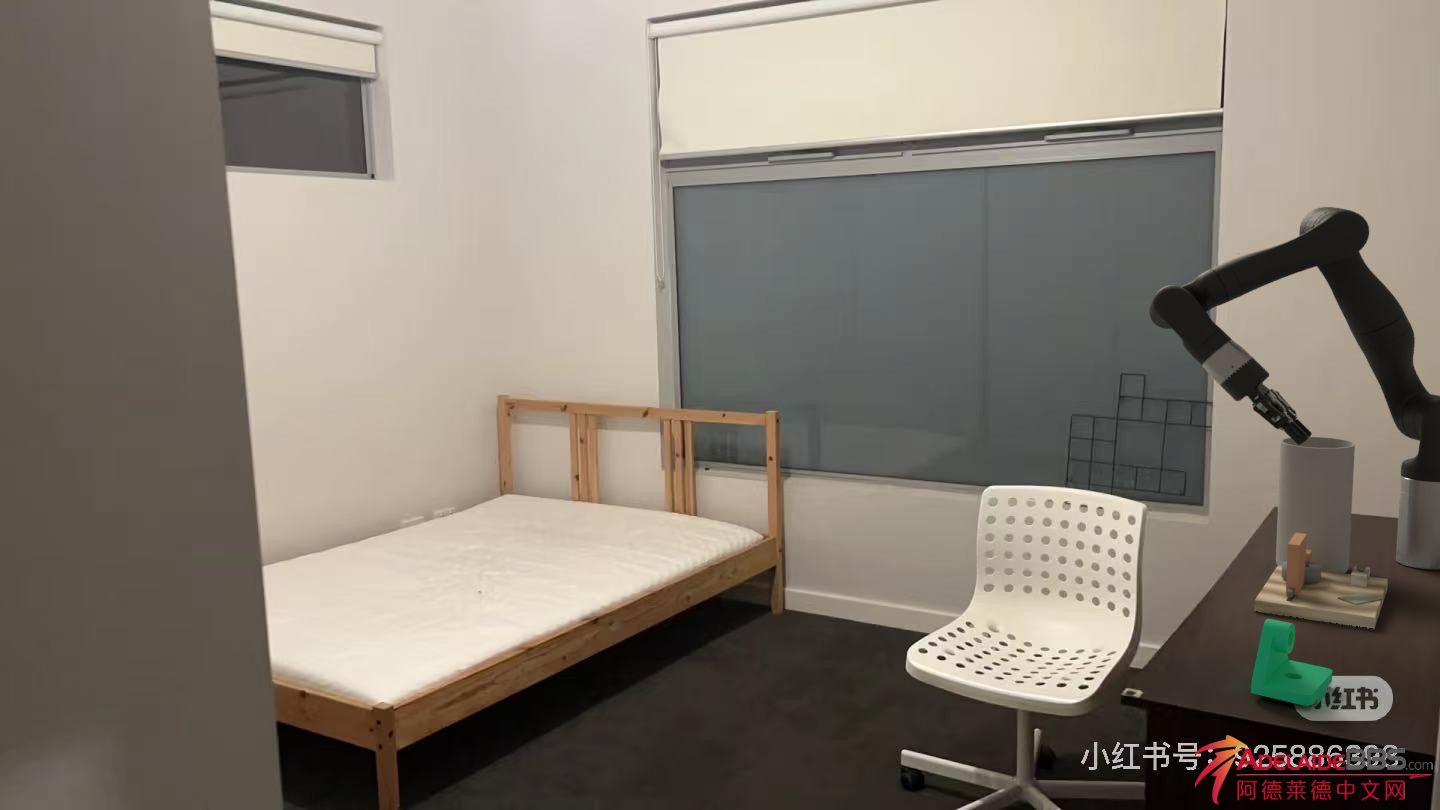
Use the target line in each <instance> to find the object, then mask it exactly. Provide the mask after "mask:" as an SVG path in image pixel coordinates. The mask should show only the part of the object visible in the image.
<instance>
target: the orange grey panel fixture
mask: <svg viewBox="0 0 1440 810" xmlns="http://www.w3.org/2000/svg"><path fill="white" fill-rule="evenodd" d="M1306 539H1307V534H1303V533H1295V534H1294V536H1293V537H1292V539H1291V540H1290V541H1289V543H1288V552H1287V561H1284V562H1282V575H1281V576H1282V578H1284V579H1286V594H1287V597H1291V598H1292V597H1293V595H1298V593H1299V591H1300V590H1301V588H1302V586H1303V584H1304V583H1317V582H1320V581H1321V570H1322V567H1321V565H1319V564H1316V563H1313V562H1311V561H1312V550H1307V549H1306Z"/></svg>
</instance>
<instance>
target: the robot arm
mask: <svg viewBox="0 0 1440 810" xmlns="http://www.w3.org/2000/svg"><path fill="white" fill-rule="evenodd" d="M1298 233H1299V234H1298V235H1299V236H1297V237H1295V238H1293V239H1290V240H1288V241H1285V242H1283V243H1280V244H1278V245H1274V246H1271V247H1268V248H1264V249H1260V250H1258V251H1253V252H1251V253H1250V252H1249V253H1247V254H1246V253H1245V254H1243V255H1240V256H1237V257H1235V258H1232V259H1229V260H1227V261H1225V262H1223V263H1221V264H1218V265H1216V266H1214V267H1211V268H1209V269H1207V270H1205V271H1203V272H1202V273H1200V274H1198V275H1197V276H1196V278H1194V280H1192V281H1190V282H1188V283H1186V284H1184V285H1182V286H1181V285H1180V286H1179V285H1175V284H1170V285H1169V284H1168V285H1165V286H1163V287H1161V288H1160V289H1159V290H1158V291H1156V293H1155V294H1154V295H1153V298H1152V301H1151V303H1150V306H1149V309H1148V310H1149V313H1148V314H1149V316H1150V320H1151V321H1152V323H1153V324H1154V325H1155V326H1157V327H1159V328H1160V329H1167V330H1171V329H1172V330H1173V331H1174V333H1176V335H1178V337H1180V339H1181V341H1182V345H1183V347H1184V349H1185V350H1186V351H1187V352H1188V353H1189V354H1190V355H1191V356H1192V357H1193V358H1194V360H1195V361H1197V362H1198V363H1199V364H1200V365H1201V366H1202V367H1203V369H1204V370H1205V371H1206V372H1207V374H1208V375H1209V376H1210V378H1212V379H1213V380H1214V381H1215V382H1216V383H1217V384H1218V386H1220V387H1221V388H1222V389H1223V390H1224V391H1225V392H1226V393H1227V394H1228V395H1229V396H1230V397H1231V398H1232V399H1233V400H1234V401H1236V402H1240V401H1242V400H1243V399H1244V398H1246V397H1248V399H1249V400H1250V401H1251V402H1252V404H1251V406H1252V409H1253V412H1256V414H1257V415H1259V416H1260V417H1261V418H1263V419H1264V420H1265V421H1266V422H1268V423H1269V424H1270V425H1271V426H1273V427H1274V428H1275V429H1276V430H1280V431H1283V432H1285V434H1286V435H1287V436H1288V437H1289V438H1290V437H1291V438H1292V439H1293V440H1294V441H1295V442H1296V443H1297V444H1298V445H1301V444H1302V443H1303V442H1305V441H1306V440H1307V439H1308V438H1309V437H1312V436H1313V435H1312V431H1310V429H1309V428H1307V427H1306V426H1305V425H1304V423H1302V421H1301V420H1299V419H1298V416H1297V412H1296V410H1294V408H1292V406H1291V405H1290V404H1289V403H1288V402H1287V401H1286V399H1285V398H1284V397H1283V396H1282V394H1280V392H1279V391H1277V390H1275V389H1273V388H1268V386H1266V385H1264V384H1263V383H1264V382H1265V381H1266V380H1267V379H1269V377H1270V373H1269V372H1268V371H1267V370H1266V369H1265V368H1264V367H1263V366H1262V365H1261V364H1260V363H1259V362H1258V361H1257V360H1256V359H1255V358H1254V357H1253V356H1252V355H1251V354H1250V353H1249V352H1248V351H1246V349H1245V348H1244V347H1242V346H1241V345H1240V344H1238V343H1237V342H1235V340H1233V339H1232V338H1231V337H1230V336H1229V335H1228V334H1227V333H1226V332H1225V331H1224V330H1223V329H1222V328H1221V327H1219V326H1218V325H1217V324H1216V322H1214V321H1213V320H1212V318H1211V317H1210V315H1209V314H1208V313H1207V312H1209V311H1210V310H1212V309H1214V308H1216V307H1218V306H1222V305H1224V304H1226V303H1229V302H1231V301H1233V300H1236V299H1238V298H1240V297H1242V296H1244V295H1246V294H1249V293H1250V292H1253V291H1255V290H1258V289H1260V288H1261V287H1264V286H1267V285H1269V284H1271V283H1274V282H1276V281H1279V280H1281V279H1285V278H1287V277H1289V276H1293V275H1295V274H1297V273H1301V272H1303V271H1306V270H1309V269H1313V268H1315V267H1317V269H1318V270H1319V271H1320V273H1321V275H1322V276H1323V277H1324V279H1325V281H1326V283H1327V285H1328V286H1329V288H1330V290H1331V292H1332V294H1333V296H1334V300H1335V301H1336V303H1337V305H1338V307H1339V310H1340V311H1341V314H1342V315H1343V317H1344V319H1345V321H1346V323H1347V325H1348V328H1349V330H1350V332H1351V333H1352V336H1353V337H1354V339H1355V342H1356V344H1357V345H1358V347H1359V348H1360V350H1361V352H1362V354H1363V355H1364V357H1365V359H1366V361H1367V363H1368V365H1369V367H1370V369H1371V371H1372V373H1373V375H1374V376H1375V379H1376V380H1377V382H1378V384H1379V387H1380V389H1381V391H1382V394H1383V396H1384V399H1385V401H1386V404H1387V407H1388V410H1389V413H1390V415H1391V418H1392V420H1393V423H1394V424H1395V426H1396V428H1397V429H1398V431H1399V433H1401V434H1402V435H1404V436H1405V437H1407V438H1409V439H1412V440H1415V441H1419V443H1418V444H1419V446H1418V450H1417V451H1418V452H1417V454H1416V455H1415V456H1414V457H1411V458H1407V459H1405V460H1403V461H1402V463H1401V466H1400V478H1399V481H1400V482H1399V498H1398V499H1399V500H1398V514H1397V515H1398V517H1397V533H1396V536H1397V537H1396V555H1395V561H1396V562H1397V563H1399V564H1401V565H1404V566H1406V567H1407V566H1408V567H1410V568H1415V569H1423V570H1440V395H1438V394H1433V393H1432V394H1431V393H1430V392H1429V391H1428V390H1427V388H1426V387H1425V386H1424V384H1423V383H1422V380H1421V379H1420V377H1419V375H1418V374H1417V372H1416V371H1417V370H1416V369H1415V365H1414V355H1415V347H1416V346H1415V338H1416V337H1415V331H1414V329H1413V327H1412V324H1411V323H1410V321H1409V318H1408V317H1407V315H1406V313H1405V311H1404V309H1403V307H1402V305H1401V304H1400V302H1399V301H1398V299H1397V298H1396V297H1395V295H1394V294H1393V293H1392V291H1390V290H1389V288H1388V287H1387V286H1386V285H1385V284H1384V283H1383V282H1382V281H1381V280H1380V279H1379V278H1378V277H1377V275H1376V274H1374V272H1373V271H1372V270H1371V269H1370V267H1369V266H1368V264H1366V262H1365V261H1364V258H1363V257H1362V254H1361V252H1360V251H1361V250H1362V249H1363V248H1365V247H1364V246H1365V245H1366V244H1367V241H1368V239H1369V238H1370V237H1369V236H1370V225H1369V224H1368V221H1367V219H1365V217H1364V216H1362V215H1361V214H1359V212H1355V211H1353V210H1350V209H1345V208H1340V207H1333V206H1322V207H1317V208H1314V209H1312V210H1310V211H1309V212H1308V213H1307V214H1306V215H1305V216H1304V217H1303V218H1302V220H1301V223H1300V226H1299V231H1298Z"/></svg>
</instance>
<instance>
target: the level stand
mask: <svg viewBox="0 0 1440 810" xmlns="http://www.w3.org/2000/svg"><path fill="white" fill-rule="evenodd" d="M1370 573H1371V567H1370V566H1369V567H1368V566H1367V565H1366V563H1364V562H1360V561H1359V562H1356V564H1355V566H1354V567H1353V569H1352V571H1351V573H1337V572H1329V571H1321V581H1320V582H1317V583H1304V584H1303V586H1302V588H1301V590H1300V591H1299V593H1298V595H1293V597H1292V598H1291V597H1287V594H1286V579H1284V578H1282V576H1281V575H1282V565H1277V566H1276V567H1275V569H1274V571H1273V572H1272V574H1271V575H1270V577H1269V578H1268V580H1267V581H1266V582H1265V585H1264V586H1263V587H1262V589H1261V590H1260V591H1259V593H1258V594H1257V596H1256V598H1255V599H1254V606H1253V607H1254V609H1253V611H1254V612H1256V611H1258V613H1263V614H1264V613H1265V614H1269V613H1270V614H1271V613H1272V614H1271V615H1276V614H1277V615H1278V616H1283V615H1284V616H1283V617H1289V616H1292V617H1291V618H1296V617H1298V619H1303V618H1304V620H1310V621H1315V622H1316V621H1317V622H1322V621H1323V622H1324V623H1329V622H1331V623H1330V624H1336V623H1338V624H1337V625H1342V624H1343V625H1344V626H1349V625H1350V626H1351V625H1352V626H1351V627H1356V626H1358V628H1362V627H1367V628H1366V629H1369V628H1373V629H1372V630H1375V628H1376V624H1377V621H1378V619H1379V617H1380V613H1381V610H1382V607H1383V603H1384V601H1385V597H1386V595H1387V591H1388V586H1389V585H1388V583H1389V581H1388V580H1389V579H1388V578H1381V577H1375V576H1370ZM1277 615H1276V616H1277ZM1343 625H1342V626H1343ZM1359 626H1360V627H1359Z"/></svg>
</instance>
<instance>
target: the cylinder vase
mask: <svg viewBox="0 0 1440 810" xmlns="http://www.w3.org/2000/svg"><path fill="white" fill-rule="evenodd" d="M1279 446H1280V447H1279V449H1280V450H1279V472H1278V473H1279V476H1278V497H1277V501H1278V503H1277V523H1276V545H1275V547H1276V551H1275V563H1276V565H1277V566H1278V565H1282V562H1284V561H1287V552H1288V543H1289V541H1290V540H1291V539H1292V537H1293V536H1294V534H1295V533H1303V534H1307V539H1306V549H1307V550H1312V561H1311V562H1313V563H1316V564H1319V565H1321V567H1322V570H1321V571H1329V572H1337V573H1345V574H1347V572H1348V570H1349V568H1350V550H1351V532H1352V531H1351V529H1352V510H1353V508H1352V507H1353V494H1354V493H1353V491H1354V490H1353V489H1354V488H1353V487H1354V474H1355V473H1354V470H1355V452H1356V451H1355V450H1356V444H1355V443H1354V442H1353V441H1350V440H1346V439H1342V438H1333V437H1323V436H1310V437H1309V438H1308V439H1307V440H1306V441H1305V442H1303V443H1302V444H1301V445H1298V444H1297V443H1296V442H1295V441H1294V440H1293V439H1292V438H1291V437H1290V436H1289V437H1286V438H1282V439H1280V445H1279Z"/></svg>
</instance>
